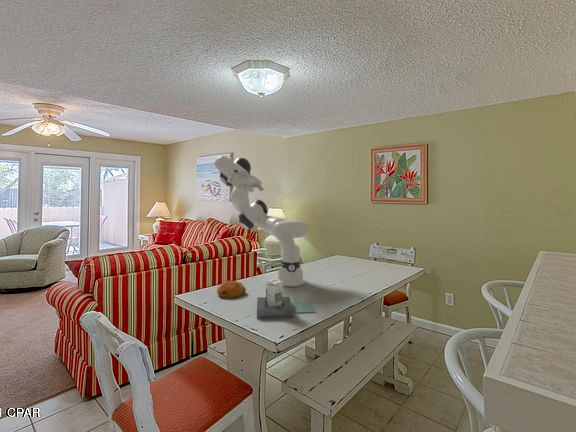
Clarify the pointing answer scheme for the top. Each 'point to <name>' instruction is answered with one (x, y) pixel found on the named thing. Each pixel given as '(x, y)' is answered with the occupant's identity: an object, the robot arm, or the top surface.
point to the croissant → (230, 289)
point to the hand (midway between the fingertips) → (258, 190)
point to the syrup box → (274, 293)
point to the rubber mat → (302, 307)
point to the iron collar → (274, 309)
